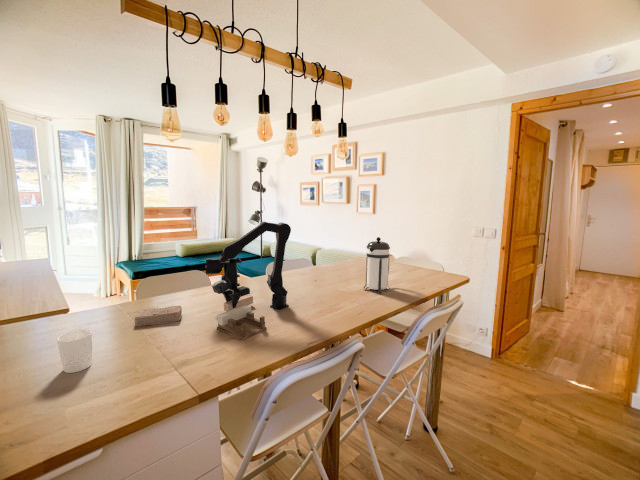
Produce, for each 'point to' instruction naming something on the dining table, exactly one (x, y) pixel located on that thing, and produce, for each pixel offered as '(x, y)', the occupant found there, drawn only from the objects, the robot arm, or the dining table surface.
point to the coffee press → (377, 265)
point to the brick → (158, 315)
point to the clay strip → (239, 303)
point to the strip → (233, 314)
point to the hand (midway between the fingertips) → (231, 307)
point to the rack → (243, 326)
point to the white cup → (75, 350)
